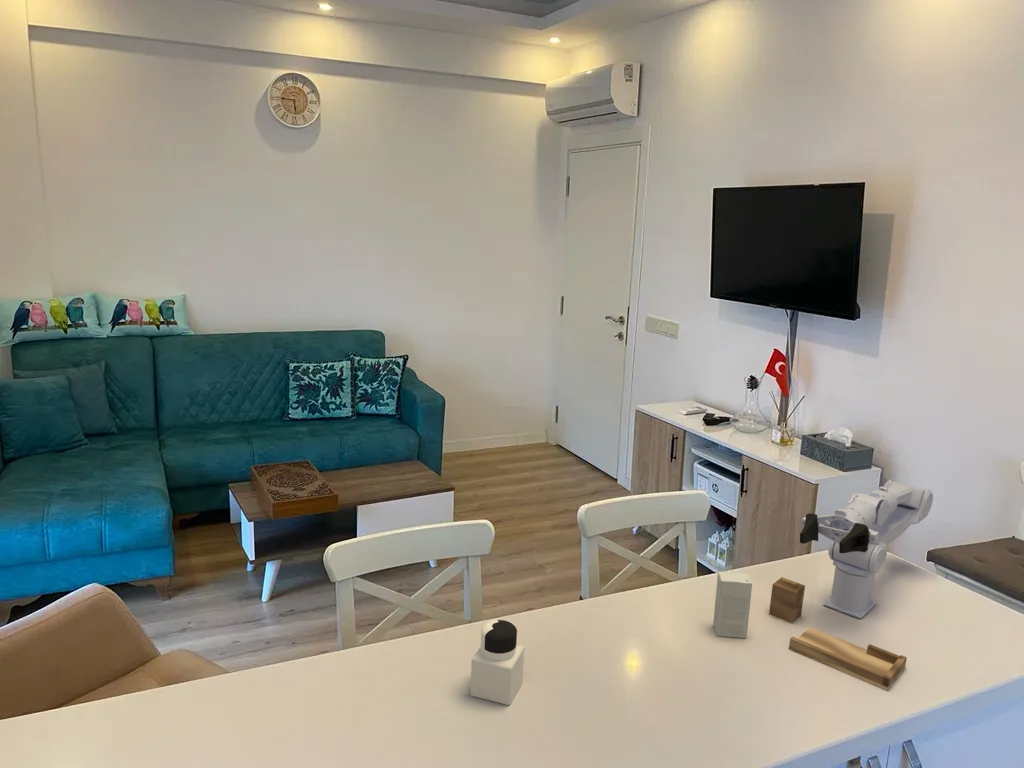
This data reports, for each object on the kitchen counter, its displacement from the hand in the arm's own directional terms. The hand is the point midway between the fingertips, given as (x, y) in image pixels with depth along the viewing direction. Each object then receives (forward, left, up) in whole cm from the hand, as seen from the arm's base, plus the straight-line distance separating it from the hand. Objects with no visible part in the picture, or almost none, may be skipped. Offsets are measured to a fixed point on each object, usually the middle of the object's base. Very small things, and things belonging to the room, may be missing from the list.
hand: (821, 543), depth 143 cm
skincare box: (+9, -12, -21) cm, 26 cm away
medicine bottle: (+56, -31, -21) cm, 68 cm away
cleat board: (+1, +8, -20) cm, 22 cm away
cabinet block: (-6, -7, -20) cm, 22 cm away
